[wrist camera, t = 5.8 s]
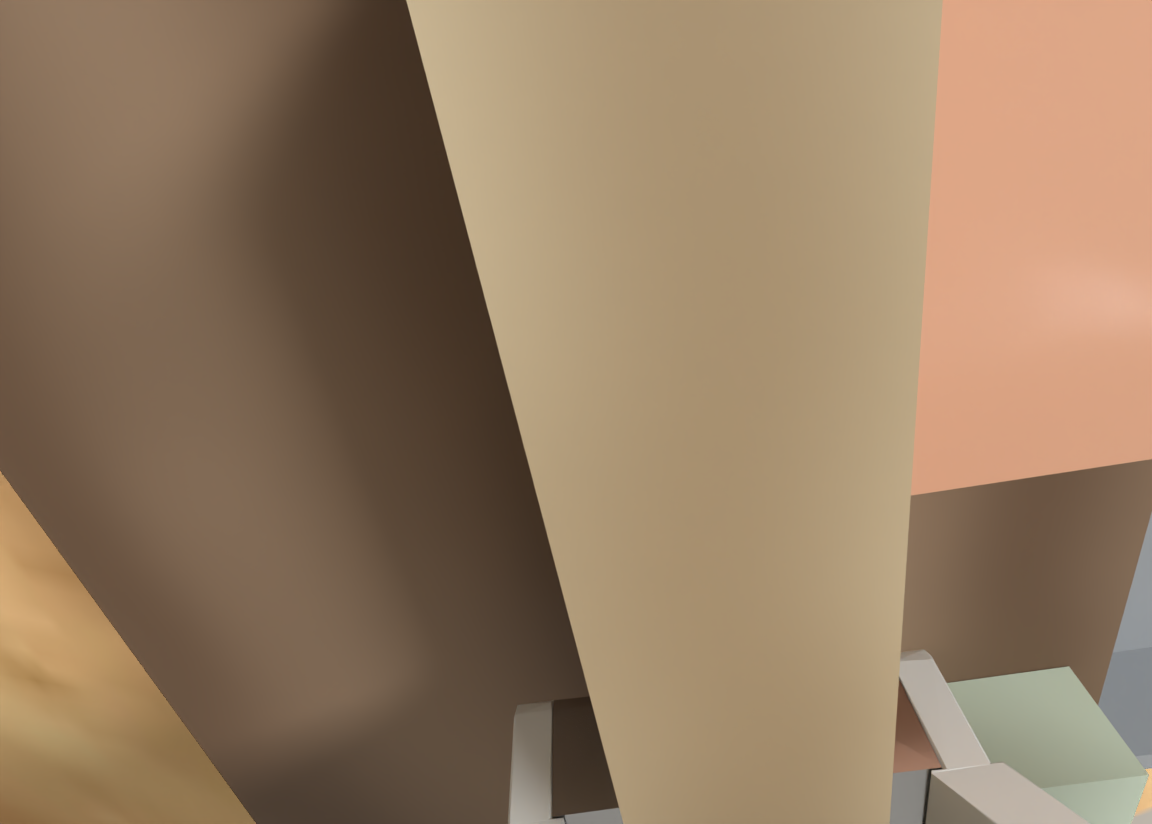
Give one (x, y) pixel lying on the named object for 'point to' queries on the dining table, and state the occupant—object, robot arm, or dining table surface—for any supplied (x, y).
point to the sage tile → (1055, 740)
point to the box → (1133, 664)
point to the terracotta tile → (1037, 244)
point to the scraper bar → (710, 365)
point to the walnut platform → (354, 416)
